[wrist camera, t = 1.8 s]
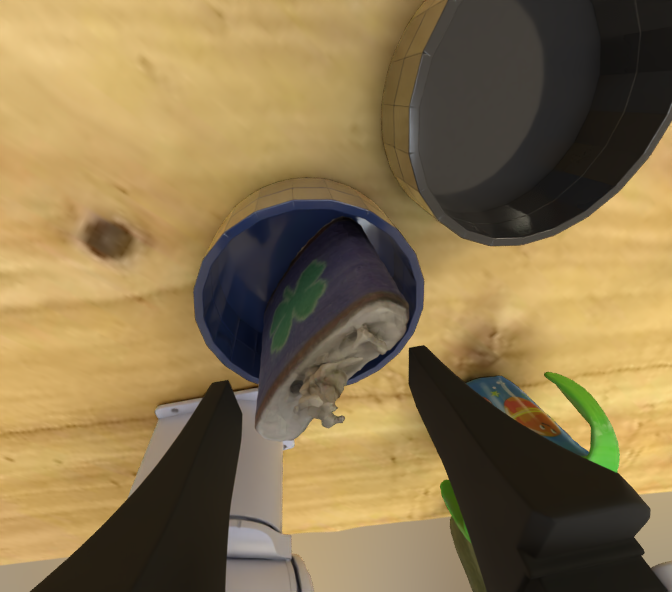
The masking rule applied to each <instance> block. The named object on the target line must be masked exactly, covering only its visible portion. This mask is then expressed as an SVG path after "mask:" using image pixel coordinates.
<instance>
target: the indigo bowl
mask: <svg viewBox="0 0 672 592" xmlns="http://www.w3.org/2000/svg"><path fill="white" fill-rule="evenodd" d="M341 216H344V217H348V218H352V219H353V220H354V221H356V223H358V224H360V225H361V226H362V228H363V230H364V232H365V234H366V235H367V237H368V239H369V241H370V242H371V244H372V245H373V246H374V247H375V250H376V252H377V254H378V256H379V258H380V260H381V261H382V262H383V263H384V265H385V267H386V268H387V270H388V272H389V273H390V276H391V277H392V278H393V280H394V281H395V283H396V285H397V287H398V290H399V291H400V293H401V294H402V295H403V296H404V297H405V300H406V301H407V302H408V303H409V320H408V323H407V325H406V327H407V330H406V332H405V334H404V335H403V337H402V338H401V339H400V340H399V341H398V342H397V343H396V344H395V346H394V347H393V348H392V349H391V350H388V351H386V353H385V354H383V355H381V354H379V356H378V357H377V358H375V359H373V360H371V361H369V362H368V363H366V364H365V365H364V366H363V367H362V368H361V370H359V371H357V372H356V373H355V374H354V375H353V376H352V377H350V378H349V379H348V381H347V384H346V386H347V385H350V384H354V383H356V382H358V381H360V380H362V379H364V378H366V377H368V376H369V375H371V374H373V373H375V372H377V371H378V370H380V369H381V368H382V367H384V366H385V365H386V364H387V363H388V362H390V361H391V360H392V359H393V358H394V357H395V356H397V355H398V353H400V351H401V350H402V349H403V347H404V346H405V344H406V343H407V342H408V340H409V339H410V338H411V336H412V335H413V333H414V332H415V329H416V326H417V323H418V321H419V318H420V315H421V313H422V310H423V301H424V278H423V275H422V272H421V268H420V265H419V262H418V259H417V255H416V254H415V252H414V250H413V249H412V248H411V246H410V245H409V244H408V242H407V241H406V240H405V238H404V237H403V236H402V234H401V233H400V232H399V230H398V229H397V228H396V227H395V226H394V224H393V223H392V222H391V221H390V220H389V218H388V217H387V216H386V215H385V214H384V212H383V211H382V210H381V209H380V208H379V206H378V205H377V204H376V203H374V202H373V201H371V200H370V199H369V198H368V197H366V196H365V195H363V194H362V193H360V192H359V191H357V190H356V189H354V188H352V187H349V186H347V185H344V184H341V183H339V182H336V181H332V180H327V179H321V178H307V177H306V178H293V179H288V180H283V181H279V182H276V183H273V184H270V185H268V186H265V187H263V188H260V189H259V190H257V191H256V192H254V193H252V194H251V195H249V196H248V197H247V198H245V199H244V200H242V201H241V202H240V203H239V204H237V205H236V206H235V207H234V209H233V210H232V211H231V213H230V214H229V215H228V217H227V218H226V219H225V221H224V222H223V223H222V225H221V226H220V227H219V229H218V231H217V233H216V235H215V237H214V239H213V241H212V243H211V245H210V247H209V249H208V251H207V253H206V255H205V257H204V258H203V260H202V263H201V267H200V270H199V273H198V276H197V279H196V283H195V286H194V291H193V295H194V310H195V320H196V323H197V325H198V327H199V329H200V332H201V334H202V336H203V339H204V341H205V343H206V345H207V346H208V348H209V349H210V350H211V351H212V352H213V353H214V354H215V355H216V357H217V358H218V359H219V360H220V361H221V362H222V363H223V364H224V365H225V366H226V367H227V368H229V369H231V370H232V371H234V372H235V373H237V374H238V375H240V376H241V377H243V378H245V379H246V380H248V381H250V382H253V383H256V384H259V374H260V365H261V353H262V335H263V328H264V323H263V320H264V313H265V310H266V308H267V304H268V303H267V302H269V299H270V297H271V295H272V293H273V291H274V290H275V289H276V287H277V286H278V285H277V284H278V283H279V282H280V280H281V279H282V277H283V275H284V273H285V272H286V271H287V269H288V267H289V265H290V263H291V261H292V260H293V259H294V258H295V257H296V255H297V253H298V252H299V251H300V250H301V248H302V247H304V246H305V245H306V244H307V242H308V240H309V239H311V238H312V237H313V236H315V234H316V233H317V232H318V231H319V230H320V229H321V228H322V227H323V226H325V225H326V224H328V223H330V222H331V221H332V220H333V219H336V218H339V217H341Z"/></svg>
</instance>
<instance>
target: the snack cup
mask: <svg viewBox="0 0 672 592" xmlns="http://www.w3.org/2000/svg"><path fill="white" fill-rule="evenodd" d="M544 376H545V377H546V378H547V379H549V380H550V381H552V382H553V383H555V384H556V385H557V387H558V388H559V389H560V390H561V392H562V393H563V394H564V395H565V396H566V398H567V399H568V400H569V401H570V402H571V403H572V404H573V406H574V407H575V408H576V409H577V410H578V412H579V413H580V414H581V415H582V416H583V417H584V419H585V420H586V421H587V422H588V423H589V424H590V426H591V443H590V444H591V448H590V451H589V452H588V451H587V450H586V449H584V448H583V447H581V446H580V445H579V444H578V443H577V442H575V441H574V440H573V439H572V438H571V437H570V436H569V434H568V433H566V432H565V431H564V430H563V429H562V428H561V427H560V426H559V425H558V424H557V423H556V422H555V421H554V420H553V419H552V418H551V417H550V416H549V415H548V414H546V413H545V412H544V411H543V410H542V409H541V408H540V407H539V406H538V405H537V404H536V403H535V402H534V401H532V400H531V399H530V398H529V397H528V396H527V394H526V393H524V392H523V391H522V390H521V389H520V388H519V387H517V386H516V385H515V384H514V383H512V382H511V381H509V380H507V379H506V378H504V377H503V376H495V377H484V378H478V379H474V380H472V381H469V382H467V383H466V384H467V385H468V386H469V387H471V388H472V389H473V390H474V391H476V392H477V393H478V394H479V395H481V396H482V397H483V398H485V399H486V400H487V401H489V402H490V403H491V404H493V405H494V406H495V407H497V408H498V409H500V410H501V411H503V412H504V413H506V414H507V415H508V416H510V417H511V418H513V419H515V420H516V421H518V422H519V423H521V424H522V425H524V426H526V427H528V428H529V429H531V430H533V431H534V432H536V433H538V434H540V435H541V436H543V437H545V438H547V439H548V440H550V441H552V442H554V443H556V444H558V445H560V446H561V447H563V448H565V449H567V450H569V451H571V452H573V453H575V454H577V455H579V456H581V457H583V458H586V459H588V460H590V461H592V462H594V463H597V464H599V465H601V466H603V467H605V468H608V469H610V470H612V471H614V472H616V473H617V469H618V466H619V456H620V454H619V447H618V441H617V438H616V435H615V432H614V430H613V427H612V425H611V423H610V421H609V420H608V418H607V416H606V415H605V413H604V411H603V410H602V408H601V407H600V406H599V404H598V403H597V401H596V400H595V399H594V398H593V397H592V395H591V394H590V393H588V392H587V391H586V390H585V389H584V388H583V387H582V386H580V385H579V384H577V383H576V382H574V381H573V380H571V379H569V378H567V377H564V376H562V375H560V374H557V373H552V372H546V373H544ZM440 488H441V494H442V497H443V499H444V502H445V504H446V506H447V508H448V510H449V512H450V514H451V515H452V517H453V519H454V520H455V522H456V524H457V526H458V527H459V529H460V530H461V532H462V533H463V535H464V536H465V537H466V539H467V540H468V541H469V542H470V543H471V540H470V537H469V534H468V531H467V528H466V525H465V523H464V520H463V517H462V514H461V511H460V508H459V505H458V503H457V500H456V497H455V494H454V491H453V489H452V486H451V483H450V480H444V481H443V482H442V483H441V485H440ZM471 544H472V543H471Z"/></svg>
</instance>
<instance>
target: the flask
mask: <svg viewBox="0 0 672 592" xmlns="http://www.w3.org/2000/svg"><path fill="white" fill-rule="evenodd" d="M277 285H278V286H277V287H276V289H275V290H274V291H273V293H272V295H271V297H270V299H269V302H267V303H268V304H267V308H266V310H265V313H264V320H263V323H264V328H263V335H262V353H261V365H260V374H259V387H258V396H257V405H256V413H255V430H256V431H257V432H258V433H259V434H260V435H261V436H262V437H263V438H265V439H267V440H271V441H278V442H281V441H286V440H288V441H292V440H294V439H295V438H297V437H298V436H299V435H300V434H301V433H302V432H303V431H304V430H305V429H306V428H307V426H308V424H309V423H310V422H311V420H312V419H313V418H315V419H320V420H321V421H322V425H323V427H326V428H330V427H332V426H333V425H335V424H336V423H343V421H344V420H345V417H344V416H339V417H337V416H335V415H334V414H333V413H332V412H333V411H335V410H336V409H337V408H338V407H336V406H335V401H336V399H338V398H339V397H340V395H341V393H342V391H343V390H344V386H346V384H347V381H348V379H349V378H350V377H352V376H353V375H354V374H355V373H356V372H357V371H359V370H361V368H362V367H363V366H364V365H365V364H366V363H368V362H369V361H371V360H373V359H375V358H377V357H378V356H379V354H381V355H383V354H385V353H386V351H388V350H391V349H392V348H393V347H394V346H395V344H396V343H397V342H398V341H399V340H400V339H401V338H402V337H403V335H404V334H405V332H406V330H407V327H406V325H407V323H408V320H409V303H408V302H407V301H406V300H405V297H404V296H403V295H402V294H401V293H400V291H399V290H398V287H397V285H396V283H395V281H394V280H393V278H392V277H391V276H390V273H389V272H388V270H387V268H386V267H385V265H384V263H383V262H382V261H381V260H380V258H379V256H378V254H377V252H376V250H375V247H374V246H373V245H372V244H371V242H370V241H369V239H368V237H367V235H366V234H365V232H364V230H363V228H362V226H361V225H360V224H358V223H356V221H354V220H353V219H352V218H348V217H344V216H341V217H339V218H336V219H333V220H332V221H331V222H330V223H328V224H326V225H325V226H323V227H322V228H321V229H320V230H319V231H318V232H317V233H316V234H315V236H313V237H312V238H311V239H309V240H308V242H307V244H306V245H305V246H304V247H302V248H301V250H300V251H299V252H298V253H297V255H296V257H295V258H294V259H293V260H292V261H291V263H290V265H289V267H288V269H287V271H286V272H285V273H284V275H283V277H282V279H281V280H280V282H279V283H278V284H277Z"/></svg>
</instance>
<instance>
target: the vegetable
mask: <svg viewBox="0 0 672 592" xmlns="http://www.w3.org/2000/svg"><path fill="white" fill-rule="evenodd" d="M450 529H451V534H452V537H453V540H454V544H455V548H456V550H457V553H458V556H459V558H460V560H461V563H462V565H463V568H464V570H465V572H466V575H467V577H468V580H469V583H470V585H471V588H472V591H473V592H487V590H486V587H485V584H484V581H483V578H482V574H481V571H480V568H479V565H478V562H477V559H476V556H475V552H474V549H473V546H472V544H471V543H470V542H469V541H468V540H467V539H466V537H465V536H464V535H463V533H462V532H461V530H460V529H459V527H458V526H457V524H456V522H455V520H454V519H453V517H452V516H451V519H450Z"/></svg>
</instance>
